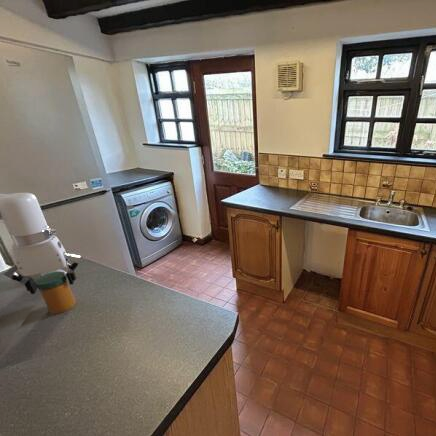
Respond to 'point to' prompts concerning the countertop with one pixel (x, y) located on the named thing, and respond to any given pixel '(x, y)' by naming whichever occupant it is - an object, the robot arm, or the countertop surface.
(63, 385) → the countertop surface
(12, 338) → the countertop surface
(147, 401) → the countertop surface
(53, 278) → the jar lid
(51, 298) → the honey jar
